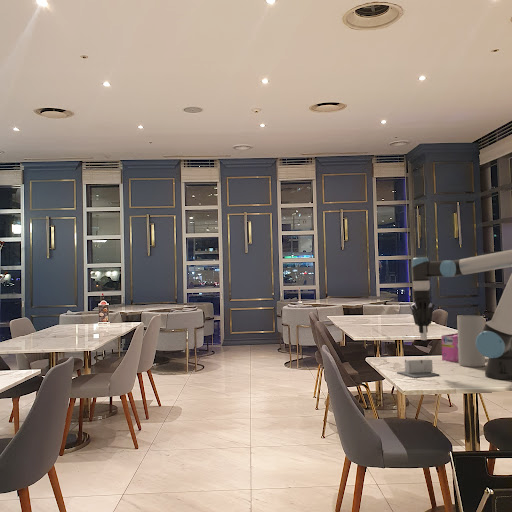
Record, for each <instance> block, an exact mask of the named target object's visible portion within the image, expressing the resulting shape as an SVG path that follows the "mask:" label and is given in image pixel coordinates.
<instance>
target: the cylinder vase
mask: <svg viewBox="0 0 512 512" xmlns="http://www.w3.org/2000/svg"><path fill="white" fill-rule="evenodd" d="M456 317H457V318H456V321H457V324H456V325H457V333H458V358H459V361H458V364H459V366H462V367H466V368H467V367H468V368H480V367H484V366H485V365H486V357H485V356H483V355H482V354H480V352H479V351H478V350H477V348H476V338H477V336H478V335H479V334H480V333H481V332H482V331H483V328H484V326H485V324H484V316H483V315H457V316H456Z"/></svg>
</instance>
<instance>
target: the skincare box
mask: <svg viewBox="0 0 512 512" xmlns="http://www.w3.org/2000/svg"><path fill="white" fill-rule="evenodd" d="M433 367H434V366H433V359H430V358H414V359H412V358H410V359H409V358H406V359H404V371H405V372H407V373H423V372H432V373H434V371H433Z"/></svg>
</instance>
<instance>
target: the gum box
mask: <svg viewBox="0 0 512 512" xmlns="http://www.w3.org/2000/svg"><path fill="white" fill-rule="evenodd" d="M444 360H446V361H445V362H454V363H455V361H456V362H459V358H458V332H456V333H451V334H444V335H443V334H442V335H441V361H444Z"/></svg>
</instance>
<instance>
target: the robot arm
mask: <svg viewBox="0 0 512 512" xmlns="http://www.w3.org/2000/svg"><path fill="white" fill-rule="evenodd" d="M411 262H412V264H411V266H412V267H411V268H412V269H411V270H412V272H411V273H412V289H413V291H412V293H413V303H412V304H410V305H409V308H410V310H411V313H412V317H413V321H414V322H413V323H414V325H416V326H418V333H419V334H420V337H419V338H420V340H421V341H428V337H427V336H428V331H429V330H428V327H429V326H430V325H432V318H433V311H434V308H435V306H436V304H434V303H431V300H430V298H431V290H430V289H431V288H430V287H431V286H430V283H431V282H430V278H454V277H459V276H462V275H471V274H476V273H482V272H490V271H493V270H494V271H495V270H500V269H505V268H512V249H508V250H503V251H498V252H492V253H487V254H481V255H476V256H470V257H466V258H461V259H454V260H449V259H448V260H447V259H444V260H433V261H432V260H429V258H428V257H413V258H412V261H411ZM498 301H499V302H498V305H497V306H496V309H495V311H494V313H493V315H492V318H491V320H488V321H486V322H485V324H484V328H483V331H482V332H481V333H480V334H479V335H478V336H477V338H476V348H477V350H478V351H479V352H480V354H482V355H483V356H485V358H487V359H488V360H487V362H486V363H487V364H486V367H485V370H484V376H485V377H487V378H490V379H494V380H506V381H507V380H509V381H510V380H512V273H511V274H510V276H509V279H508V281H507V283H506V286H505V288H504V290H503V292H502V295H501V297H500V299H499V300H498Z"/></svg>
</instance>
